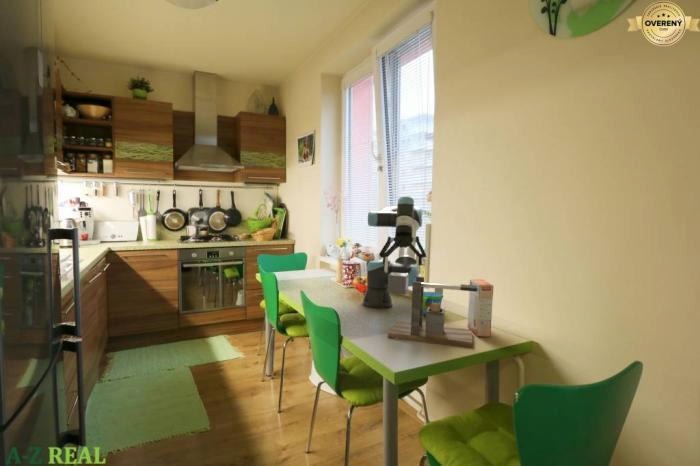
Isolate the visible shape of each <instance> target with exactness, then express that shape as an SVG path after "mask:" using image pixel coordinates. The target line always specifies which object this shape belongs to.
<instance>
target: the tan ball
mask: <svg viewBox="0 0 700 466" xmlns="http://www.w3.org/2000/svg"><path fill="white" fill-rule="evenodd" d="M441 306H442V305H441ZM441 306H440V305H439V304H438V303H433V304H432V305H431V307H430V309H431V311H433V312H440V310H441V309H442V307H441Z"/></svg>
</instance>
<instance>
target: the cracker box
mask: <svg viewBox="0 0 700 466" xmlns="http://www.w3.org/2000/svg"><path fill="white" fill-rule="evenodd" d="M469 285H476V286H477V292H475V291H468V292H469V293H468V294H469V295H468V308H467V309H468V310H467V313H468V314H467V328H469V329H470V330H472V334H474V335H475V336H476V337H484V338H490V337H491V336H492V333H491V332H492V315H493V299H494V285H493V284H491V283H489V282H487V281H486V280H485V279H481V278H479V279H478V278H470V279H469Z"/></svg>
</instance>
